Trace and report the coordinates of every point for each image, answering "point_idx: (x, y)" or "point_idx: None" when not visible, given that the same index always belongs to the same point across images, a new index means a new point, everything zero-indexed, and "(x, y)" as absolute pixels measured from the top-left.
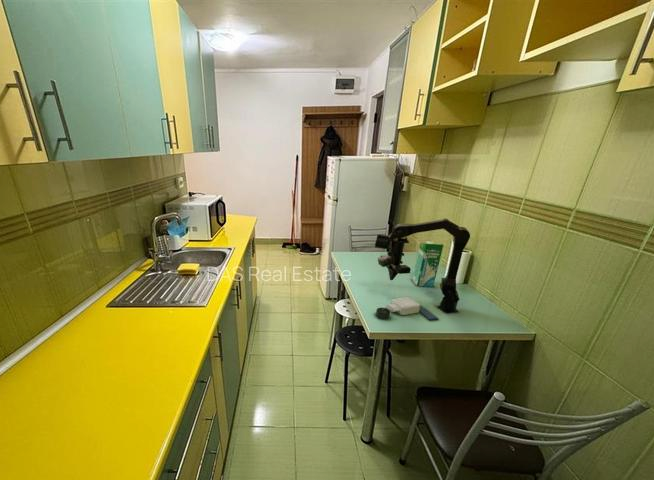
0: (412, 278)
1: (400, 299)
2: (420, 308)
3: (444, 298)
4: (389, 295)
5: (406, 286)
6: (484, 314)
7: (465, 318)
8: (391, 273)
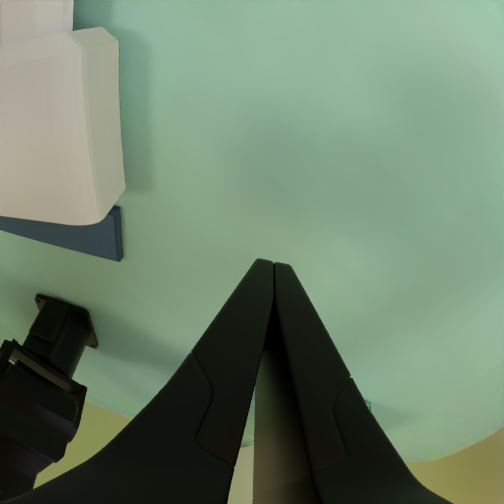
0: (370, 408)
1: (44, 125)
2: (53, 223)
3: (38, 352)
4: (317, 190)
5: (345, 358)
6: None
7: (12, 308)
8: (203, 398)
